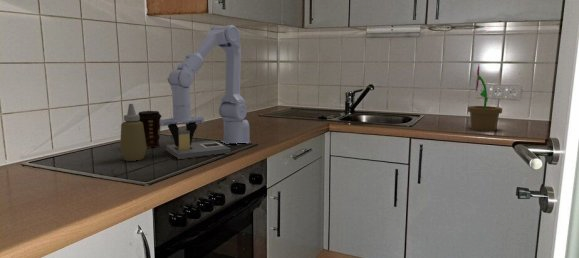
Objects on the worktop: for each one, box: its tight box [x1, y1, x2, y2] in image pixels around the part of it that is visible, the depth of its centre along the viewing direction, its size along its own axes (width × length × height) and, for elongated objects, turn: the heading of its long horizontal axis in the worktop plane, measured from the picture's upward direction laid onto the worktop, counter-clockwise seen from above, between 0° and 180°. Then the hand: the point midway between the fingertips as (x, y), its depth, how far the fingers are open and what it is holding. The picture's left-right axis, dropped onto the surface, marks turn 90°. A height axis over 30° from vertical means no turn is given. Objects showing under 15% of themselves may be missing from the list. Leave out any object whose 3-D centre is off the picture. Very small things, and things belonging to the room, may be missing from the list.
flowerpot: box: [467, 64, 503, 132], centre depth 191 cm, size 14×14×30 cm
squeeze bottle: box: [119, 103, 148, 162], centre depth 133 cm, size 8×8×18 cm
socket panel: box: [165, 139, 232, 159], centre depth 145 cm, size 18×16×2 cm
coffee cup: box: [137, 110, 163, 149], centre depth 153 cm, size 9×8×13 cm
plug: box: [177, 128, 190, 151], centre depth 142 cm, size 4×4×8 cm
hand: (183, 145), depth 142 cm, fingers closed on plug, 4 cm apart
